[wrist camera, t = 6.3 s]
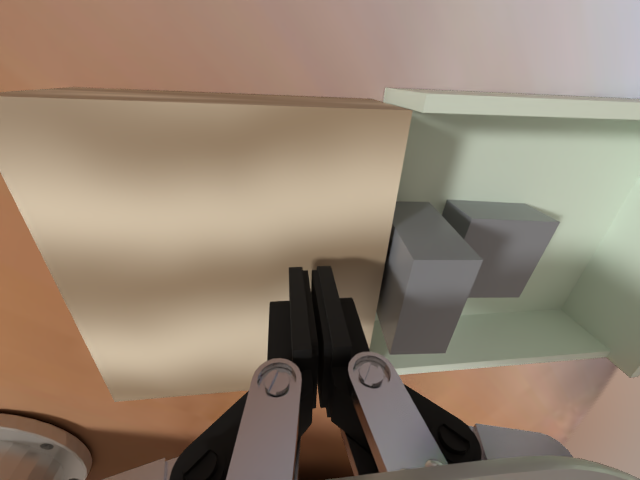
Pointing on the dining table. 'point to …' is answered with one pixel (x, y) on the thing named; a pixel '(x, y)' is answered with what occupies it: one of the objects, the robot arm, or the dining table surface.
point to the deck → (198, 218)
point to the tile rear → (501, 242)
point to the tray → (547, 197)
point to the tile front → (424, 280)
